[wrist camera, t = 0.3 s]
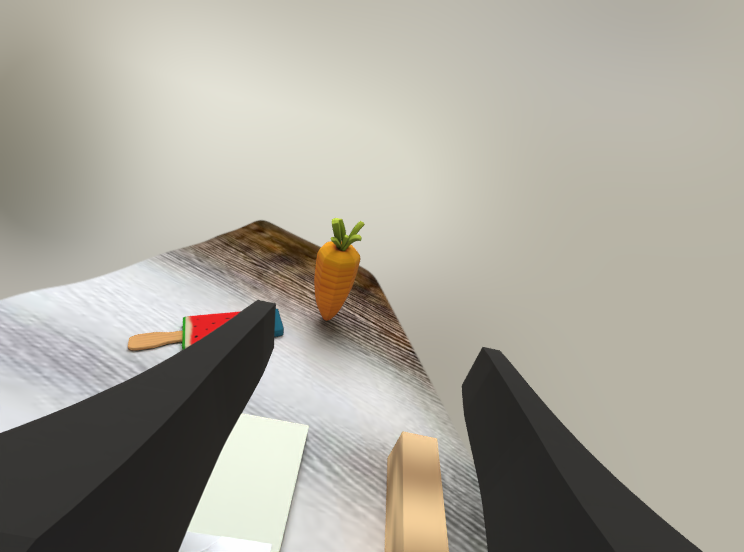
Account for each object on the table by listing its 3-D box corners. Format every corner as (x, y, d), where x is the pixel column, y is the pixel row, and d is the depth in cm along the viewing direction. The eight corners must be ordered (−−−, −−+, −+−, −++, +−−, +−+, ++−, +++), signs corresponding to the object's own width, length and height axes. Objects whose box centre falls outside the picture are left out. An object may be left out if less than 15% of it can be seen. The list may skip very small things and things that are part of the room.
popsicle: (130, 322, 32) (277, 305, 39) (133, 331, 32) (276, 314, 39) (123, 356, 29) (284, 331, 36) (127, 366, 29) (283, 340, 36)
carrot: (344, 309, 43) (368, 212, 34) (345, 335, 39) (372, 232, 30) (308, 305, 42) (324, 204, 33) (305, 331, 38) (322, 224, 29)
